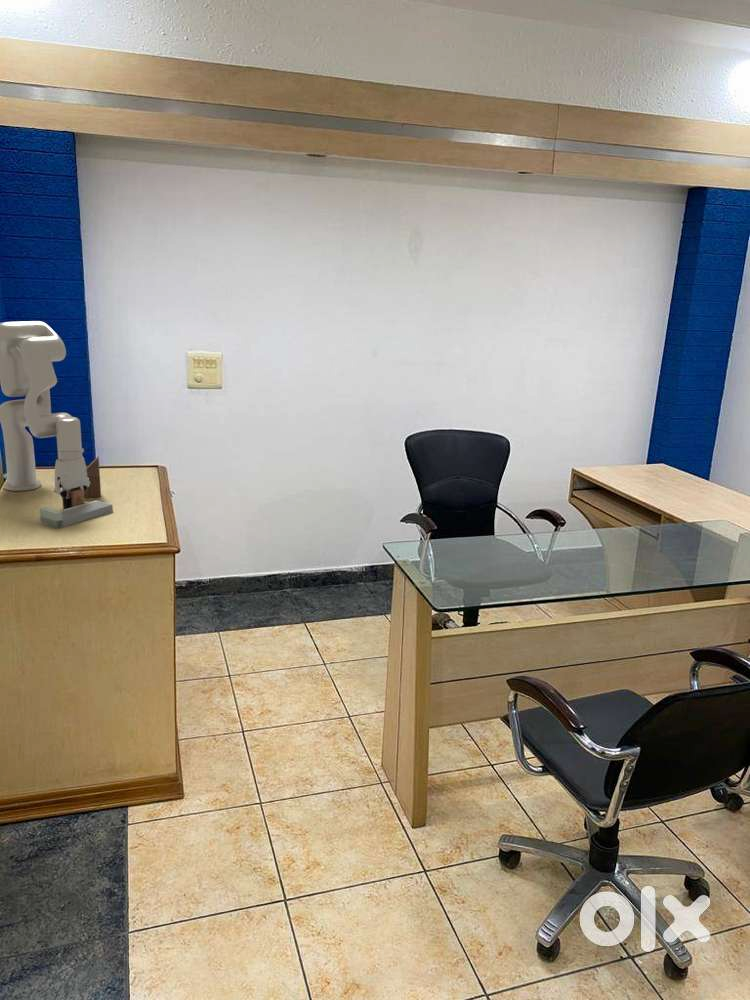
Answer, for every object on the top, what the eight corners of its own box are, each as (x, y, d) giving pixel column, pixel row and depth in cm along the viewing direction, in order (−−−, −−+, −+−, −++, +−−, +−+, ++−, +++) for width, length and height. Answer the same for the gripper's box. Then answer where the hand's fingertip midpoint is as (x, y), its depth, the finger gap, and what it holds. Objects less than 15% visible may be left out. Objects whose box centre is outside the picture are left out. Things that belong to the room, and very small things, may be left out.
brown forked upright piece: (100, 497, 281) (97, 447, 275) (68, 498, 278) (64, 448, 273) (101, 494, 284) (98, 445, 279) (69, 495, 281) (65, 445, 276)
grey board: (40, 523, 252) (39, 508, 250) (96, 507, 270) (95, 493, 268) (57, 528, 248) (56, 513, 246) (112, 511, 266) (112, 497, 265)
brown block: (63, 508, 267) (61, 489, 264) (72, 506, 270) (71, 486, 268) (80, 513, 262) (78, 493, 260) (90, 510, 266) (88, 491, 264)
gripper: (83, 448, 270) (86, 499, 275) (40, 457, 256) (45, 511, 261) (98, 451, 266) (101, 503, 272) (56, 461, 252) (60, 515, 258)
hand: (73, 506), depth 267 cm, fingers closed on brown block, 4 cm apart
